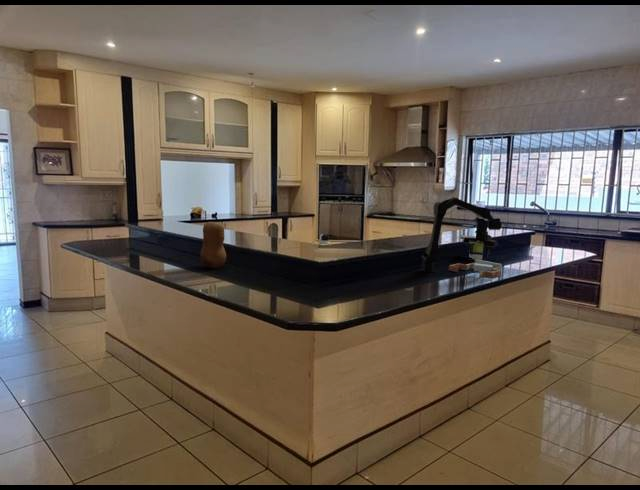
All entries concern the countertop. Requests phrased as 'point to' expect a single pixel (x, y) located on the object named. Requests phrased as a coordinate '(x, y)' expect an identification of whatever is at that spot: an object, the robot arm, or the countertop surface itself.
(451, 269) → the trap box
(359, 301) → the countertop surface
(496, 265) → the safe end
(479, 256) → the tea box
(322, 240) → the container
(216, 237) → the butternut squash
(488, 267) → the block
